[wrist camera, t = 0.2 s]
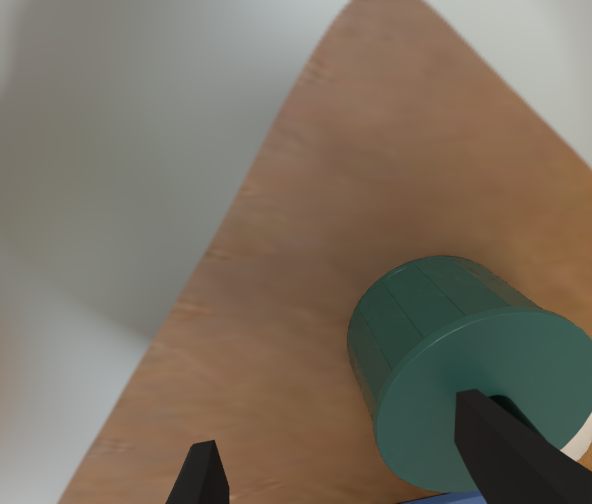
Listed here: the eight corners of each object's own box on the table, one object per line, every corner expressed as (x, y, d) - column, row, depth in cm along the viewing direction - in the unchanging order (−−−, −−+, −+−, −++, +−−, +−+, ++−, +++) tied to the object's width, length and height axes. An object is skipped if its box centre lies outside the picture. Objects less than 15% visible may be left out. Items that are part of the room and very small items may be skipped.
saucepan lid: (563, 450, 20) (633, 528, 16) (374, 489, 19) (402, 580, 15) (601, 278, 16) (707, 332, 12) (361, 322, 15) (397, 393, 11)
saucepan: (497, 377, 24) (568, 457, 19) (352, 405, 24) (383, 496, 18) (512, 241, 20) (606, 293, 15) (340, 271, 20) (373, 336, 15)
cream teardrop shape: (509, 425, 26) (534, 456, 24) (568, 382, 25) (600, 411, 23) (537, 451, 28) (563, 483, 25) (594, 411, 27) (627, 441, 24)
